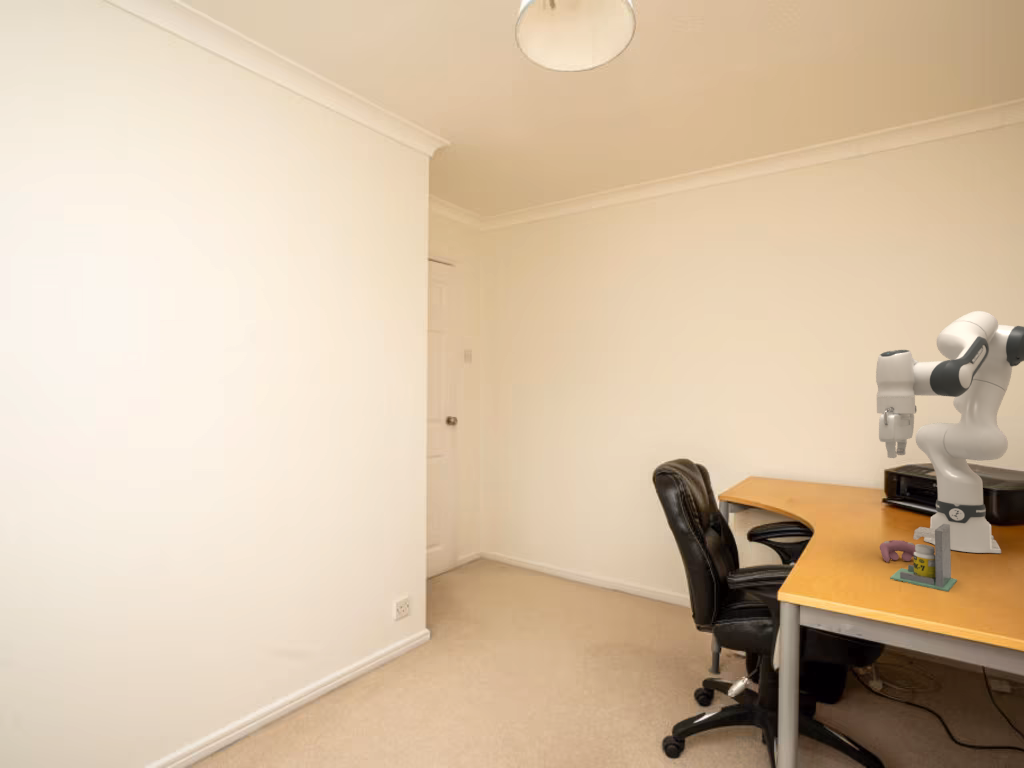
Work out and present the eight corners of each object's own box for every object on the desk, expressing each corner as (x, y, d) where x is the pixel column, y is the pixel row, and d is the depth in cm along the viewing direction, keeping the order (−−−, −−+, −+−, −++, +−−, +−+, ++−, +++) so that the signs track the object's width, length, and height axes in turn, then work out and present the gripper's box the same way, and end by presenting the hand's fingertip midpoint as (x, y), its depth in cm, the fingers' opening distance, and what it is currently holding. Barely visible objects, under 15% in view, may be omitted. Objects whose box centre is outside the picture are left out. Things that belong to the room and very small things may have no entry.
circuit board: (901, 569, 148) (901, 568, 148) (956, 581, 139) (956, 579, 139) (890, 579, 140) (890, 577, 140) (948, 591, 131) (948, 589, 131)
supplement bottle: (909, 575, 142) (908, 543, 142) (925, 575, 142) (925, 543, 142) (924, 582, 137) (924, 549, 137) (941, 581, 137) (941, 548, 137)
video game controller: (919, 567, 154) (914, 542, 158) (926, 564, 151) (920, 539, 154) (880, 564, 157) (876, 540, 160) (885, 561, 153) (881, 537, 157)
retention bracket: (909, 570, 146) (908, 518, 146) (951, 578, 139) (949, 524, 139) (899, 578, 139) (898, 524, 139) (943, 587, 133) (941, 531, 133)
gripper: (899, 408, 141) (900, 460, 141) (918, 406, 155) (919, 454, 155) (871, 408, 146) (872, 458, 146) (892, 406, 160) (892, 452, 159)
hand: (896, 456), depth 150 cm, fingers open, 8 cm apart
